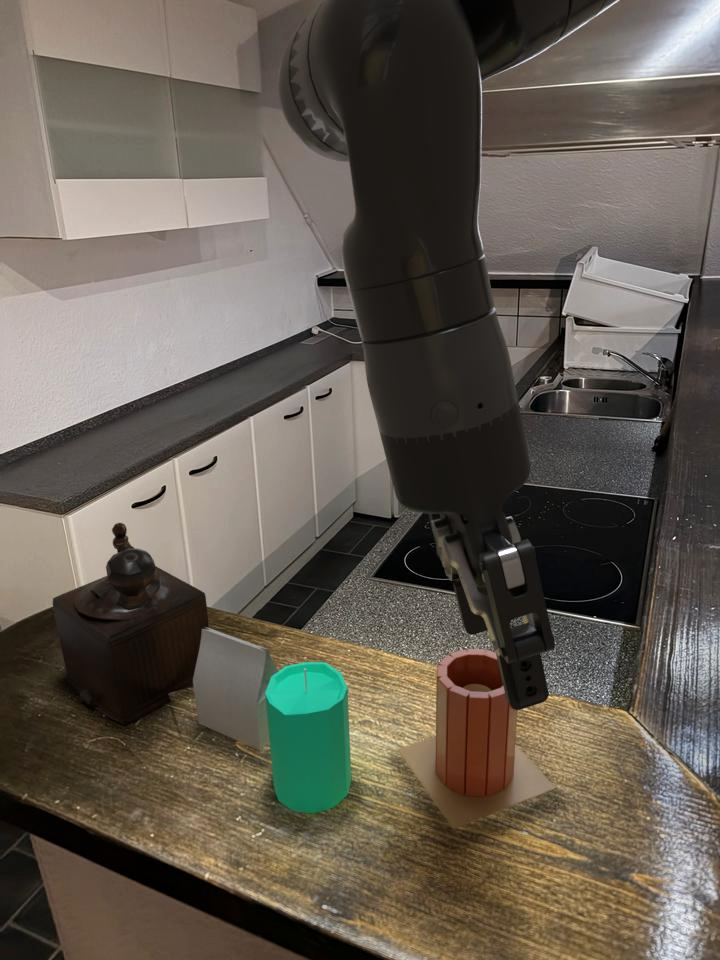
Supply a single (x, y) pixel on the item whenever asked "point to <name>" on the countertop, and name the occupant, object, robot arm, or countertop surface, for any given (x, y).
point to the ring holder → (460, 806)
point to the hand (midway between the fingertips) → (503, 662)
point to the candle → (309, 736)
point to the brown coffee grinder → (130, 634)
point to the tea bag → (233, 687)
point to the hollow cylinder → (473, 725)
